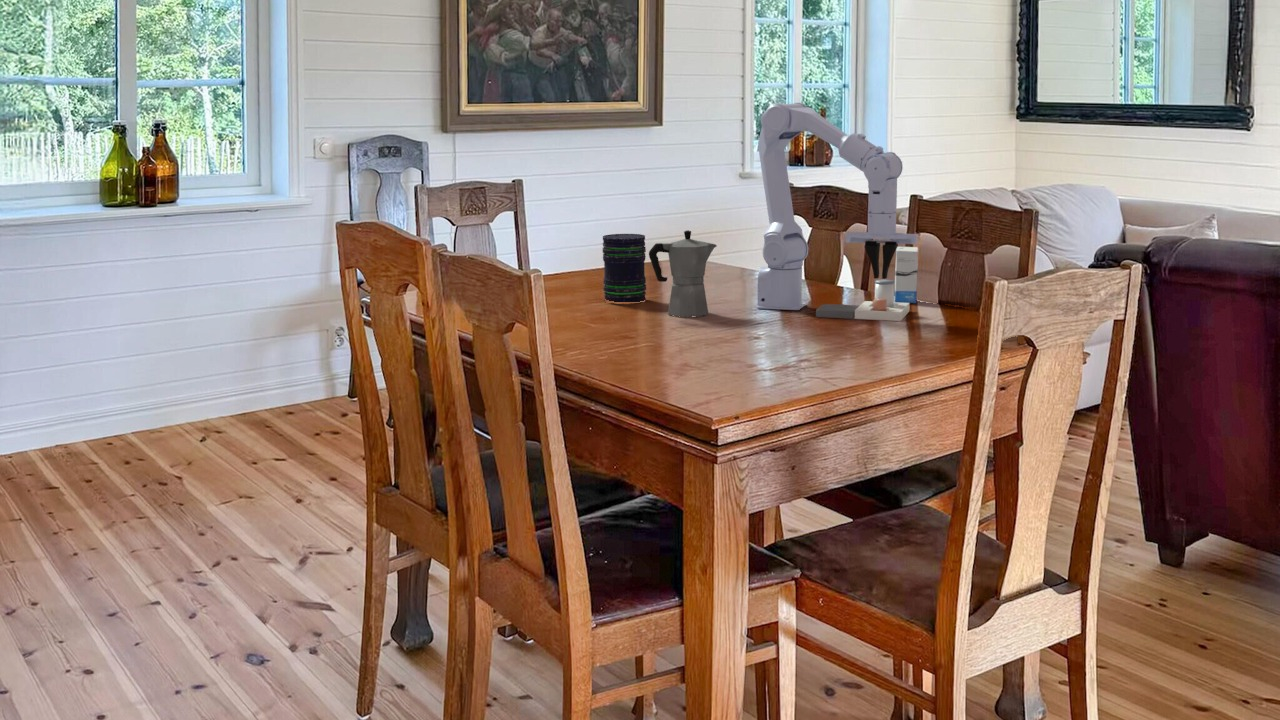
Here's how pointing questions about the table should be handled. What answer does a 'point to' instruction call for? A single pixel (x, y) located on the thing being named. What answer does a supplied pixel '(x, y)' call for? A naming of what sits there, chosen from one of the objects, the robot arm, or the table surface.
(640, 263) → the storage jar
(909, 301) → the ink box
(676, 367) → the table surface
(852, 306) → the pad
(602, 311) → the table surface
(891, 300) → the cylinder
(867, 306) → the white plate with holes
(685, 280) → the coffeepot
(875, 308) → the peach rounded piece
